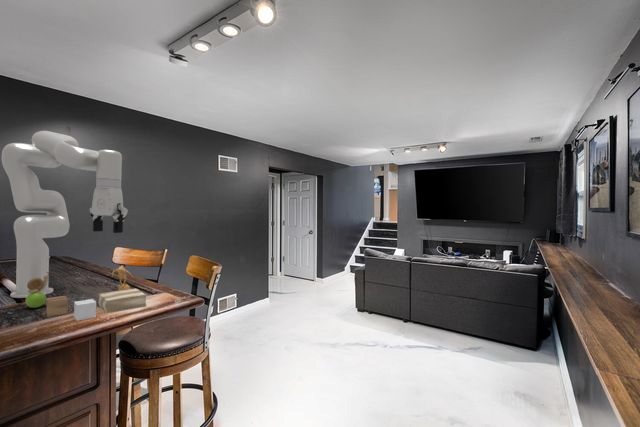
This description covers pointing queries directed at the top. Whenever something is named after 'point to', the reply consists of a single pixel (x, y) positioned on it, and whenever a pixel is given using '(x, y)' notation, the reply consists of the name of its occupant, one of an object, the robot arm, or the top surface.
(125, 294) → the birch block
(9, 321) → the top surface
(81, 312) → the grey cube
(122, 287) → the figurine
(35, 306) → the snail figurine
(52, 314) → the walnut cube
